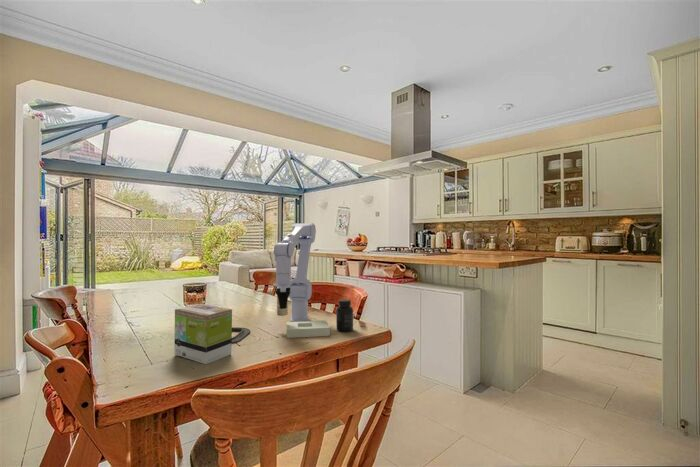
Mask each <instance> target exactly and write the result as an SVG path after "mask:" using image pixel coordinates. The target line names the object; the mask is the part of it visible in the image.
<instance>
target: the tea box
mask: <svg viewBox="0 0 700 467" xmlns="http://www.w3.org/2000/svg"><path fill="white" fill-rule="evenodd" d="M232 327H233V309H232V308H226V307H220V306H215V305H210V304H204V303H198V304H195V305H191V306H185V307H182V308H175V309H174V346H173V347H174V348H173V350H174V353H173V354H174V356H177V357H182V358H184V359H187V360H191V361H194V362H197V363H200V364H202V365H208V364H210V363H213V362H216V361H219V360H221V359H224V358H225V357H228V356H231V355H232V346H233V345H232V338H233V336H232V334H233V331H232Z"/></svg>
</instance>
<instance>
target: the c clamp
mask: <svg viewBox="0 0 700 467" xmlns="http://www.w3.org/2000/svg"><path fill="white" fill-rule="evenodd" d="M232 332H236V333H237V332H238V333H237V334H235V336H232V344H236V343H239V342H241V341H242V340H243V339H244V338H246V337H247V336H249V334H250V333H251V329H249V328H247V327H234V326H232Z"/></svg>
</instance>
